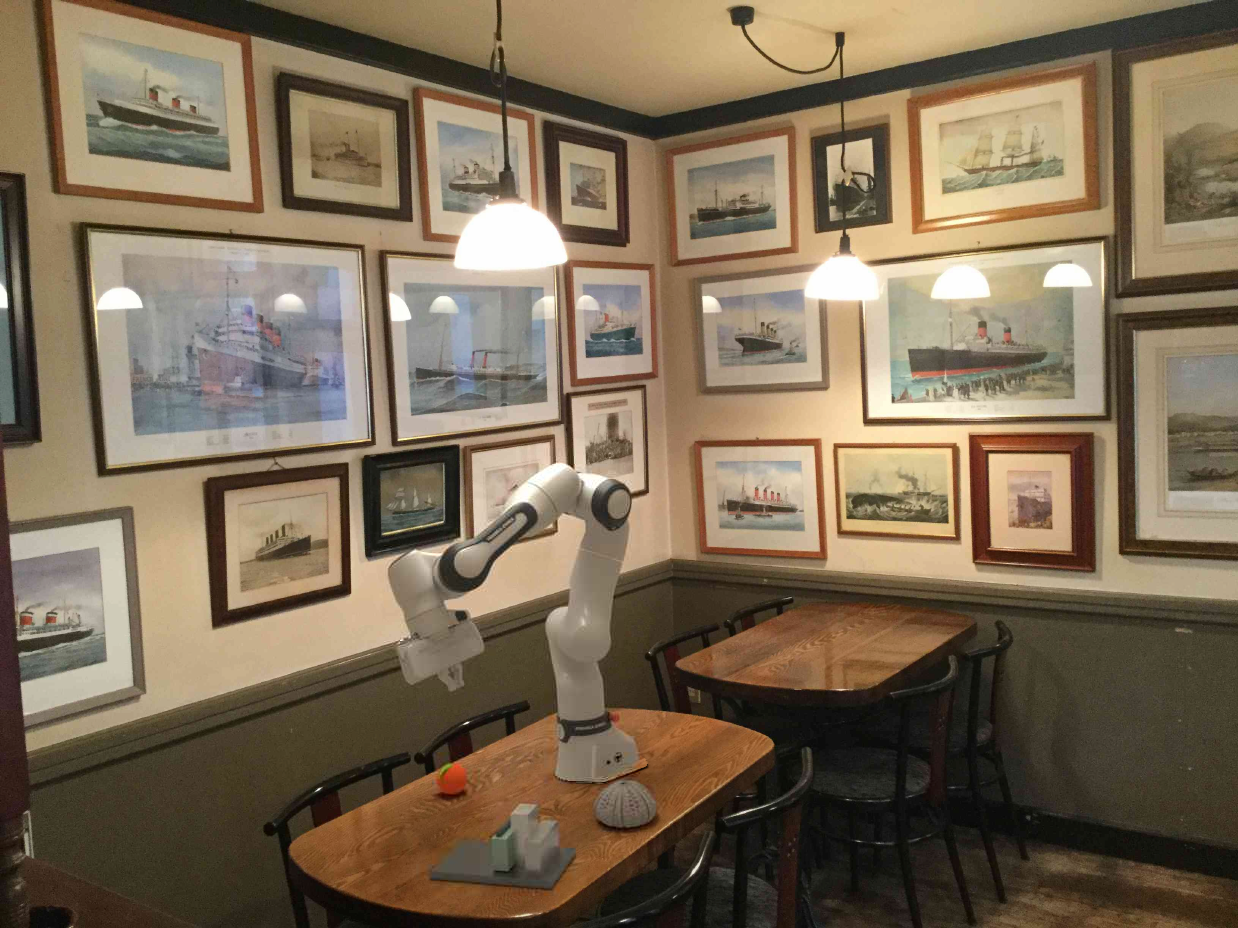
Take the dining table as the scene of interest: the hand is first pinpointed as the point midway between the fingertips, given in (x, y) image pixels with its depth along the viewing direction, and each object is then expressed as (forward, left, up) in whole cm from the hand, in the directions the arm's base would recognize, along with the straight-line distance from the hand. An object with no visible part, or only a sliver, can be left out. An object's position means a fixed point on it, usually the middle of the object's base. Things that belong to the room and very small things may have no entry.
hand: (457, 688), depth 207 cm
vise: (0, +19, -30) cm, 36 cm away
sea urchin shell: (-30, +14, -31) cm, 45 cm away
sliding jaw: (-1, +20, -29) cm, 35 cm away
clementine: (-5, -23, -31) cm, 38 cm away
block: (-3, +23, -29) cm, 37 cm away
